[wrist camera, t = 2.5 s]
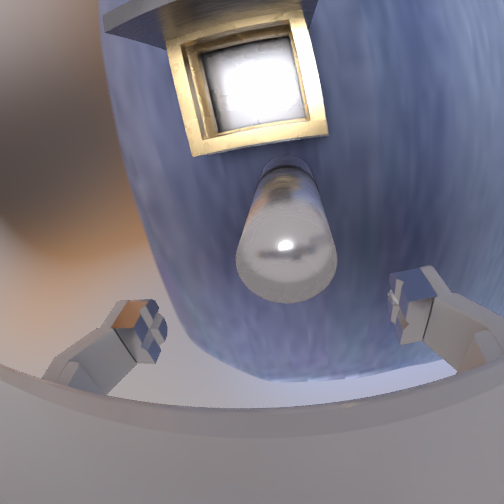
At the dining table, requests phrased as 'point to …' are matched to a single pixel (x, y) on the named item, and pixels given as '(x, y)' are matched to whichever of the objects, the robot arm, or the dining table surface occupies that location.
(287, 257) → the metal cylinder
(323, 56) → the dining table surface
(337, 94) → the dining table surface
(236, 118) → the stand
